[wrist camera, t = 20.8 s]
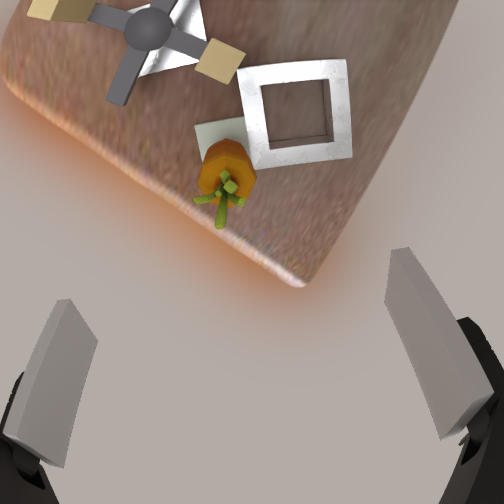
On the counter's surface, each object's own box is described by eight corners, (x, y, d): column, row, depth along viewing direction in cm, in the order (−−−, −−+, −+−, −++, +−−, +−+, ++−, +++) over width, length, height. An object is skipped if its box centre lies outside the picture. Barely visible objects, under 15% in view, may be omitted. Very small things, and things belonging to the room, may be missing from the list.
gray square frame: (337, 58, 30) (345, 59, 27) (344, 149, 36) (352, 157, 33) (236, 68, 30) (236, 69, 28) (251, 161, 36) (253, 170, 34)
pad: (248, 115, 33) (249, 116, 33) (256, 164, 37) (257, 166, 36) (195, 124, 33) (194, 125, 33) (205, 173, 37) (205, 175, 36)
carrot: (229, 174, 37) (230, 248, 24) (195, 148, 34) (176, 211, 22) (258, 143, 35) (277, 203, 22) (224, 115, 33) (222, 158, 20)
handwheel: (48, 76, 22) (2, 89, 16) (112, -58, 15) (79, -82, 9) (197, 135, 28) (186, 162, 21) (277, -1, 21) (293, -19, 14)
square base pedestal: (198, -7, 25) (189, -21, 19) (210, 59, 29) (204, 60, 24) (125, 13, 25) (101, 6, 19) (138, 77, 30) (117, 83, 24)
